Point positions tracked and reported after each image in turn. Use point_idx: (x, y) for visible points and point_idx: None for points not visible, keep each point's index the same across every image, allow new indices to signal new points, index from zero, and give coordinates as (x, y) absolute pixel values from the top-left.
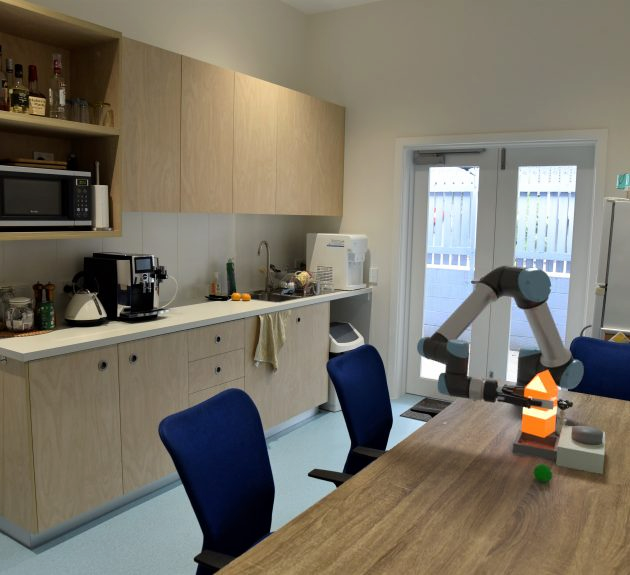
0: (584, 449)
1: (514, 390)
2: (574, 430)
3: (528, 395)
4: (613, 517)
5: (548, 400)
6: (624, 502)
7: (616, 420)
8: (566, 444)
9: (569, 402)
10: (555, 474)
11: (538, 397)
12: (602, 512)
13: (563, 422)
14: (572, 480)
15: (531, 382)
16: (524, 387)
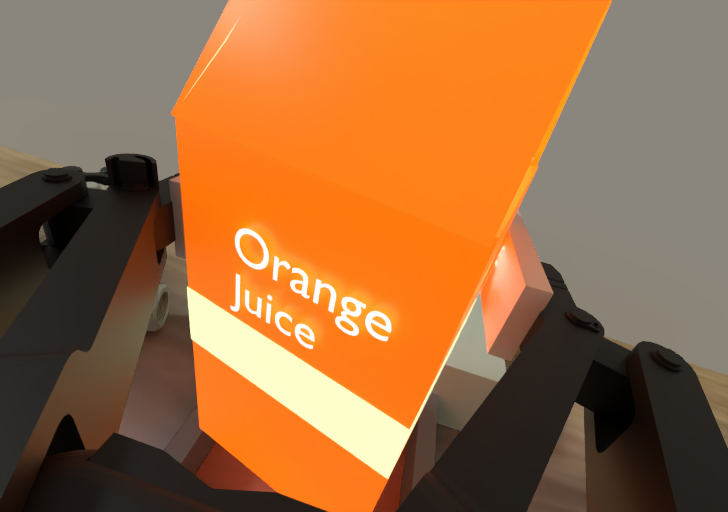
0: (478, 308)
1: (80, 414)
2: None
3: (474, 294)
4: (721, 386)
5: (520, 219)
6: (610, 338)
7: (41, 170)
8: (460, 345)
9: (104, 173)
10: (570, 464)
11: (500, 243)
12: (722, 402)
13: None
14: (577, 416)
15: (540, 99)
16: (3, 229)
